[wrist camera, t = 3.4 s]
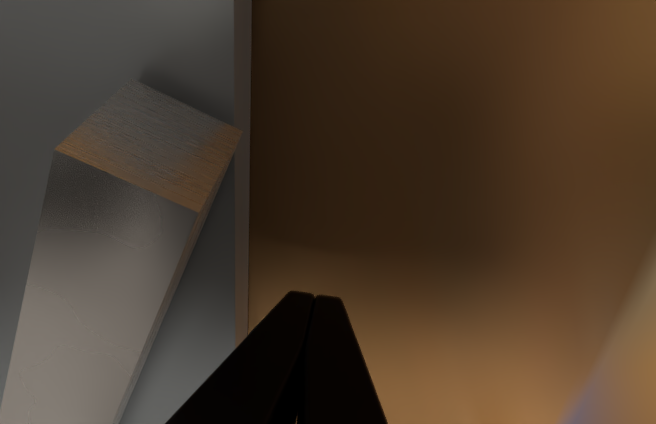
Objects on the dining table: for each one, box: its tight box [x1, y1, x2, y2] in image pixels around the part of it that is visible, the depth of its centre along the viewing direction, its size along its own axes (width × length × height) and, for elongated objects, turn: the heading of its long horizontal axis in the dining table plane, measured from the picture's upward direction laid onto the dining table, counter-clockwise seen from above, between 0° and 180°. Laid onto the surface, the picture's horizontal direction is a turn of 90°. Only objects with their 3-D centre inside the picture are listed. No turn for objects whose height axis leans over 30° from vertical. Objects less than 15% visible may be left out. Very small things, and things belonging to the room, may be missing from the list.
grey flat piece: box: [0, 0, 252, 424], centre depth 11 cm, size 16×9×3 cm, turn 175°
